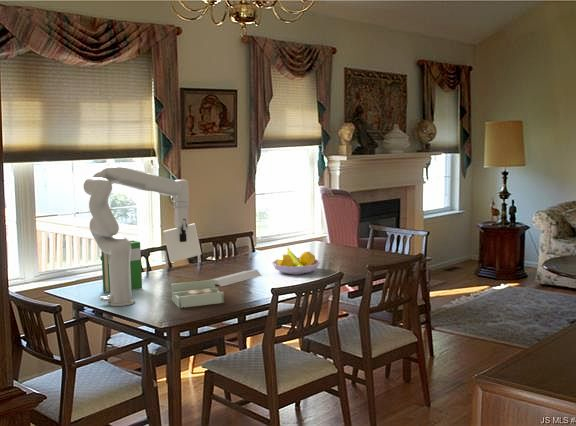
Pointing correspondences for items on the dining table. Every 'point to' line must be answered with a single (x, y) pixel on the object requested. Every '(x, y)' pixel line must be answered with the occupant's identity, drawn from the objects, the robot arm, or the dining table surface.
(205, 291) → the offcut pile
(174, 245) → the sheet
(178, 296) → the tray
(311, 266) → the fruit bowl
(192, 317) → the dining table surface
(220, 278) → the crown molding
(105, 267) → the hardback book
